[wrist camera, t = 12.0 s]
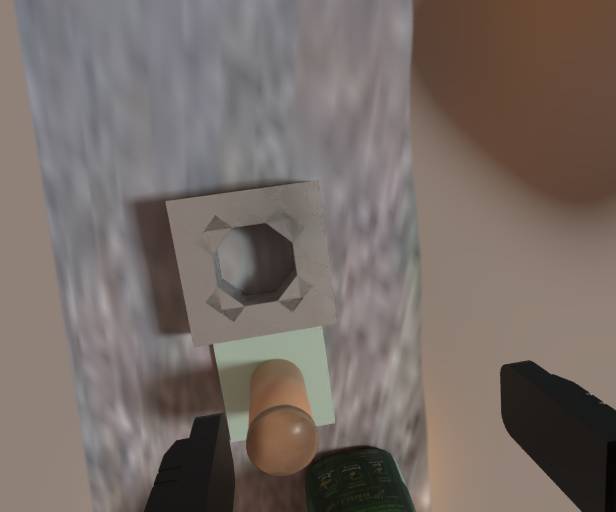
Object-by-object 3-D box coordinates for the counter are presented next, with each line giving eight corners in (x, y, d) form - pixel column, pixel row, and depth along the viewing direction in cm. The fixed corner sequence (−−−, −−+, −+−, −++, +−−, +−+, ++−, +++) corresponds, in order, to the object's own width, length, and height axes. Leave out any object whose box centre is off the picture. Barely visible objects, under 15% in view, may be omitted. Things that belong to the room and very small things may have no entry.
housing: (174, 199, 35) (165, 201, 31) (313, 181, 36) (318, 180, 32) (200, 332, 37) (193, 347, 33) (330, 311, 38) (337, 323, 34)
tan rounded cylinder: (244, 363, 37) (239, 418, 28) (300, 352, 38) (312, 402, 29) (254, 415, 38) (253, 483, 29) (309, 403, 39) (323, 467, 30)
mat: (213, 341, 37) (212, 342, 37) (321, 323, 38) (321, 324, 38) (231, 439, 39) (231, 442, 38) (334, 420, 40) (335, 423, 39)
